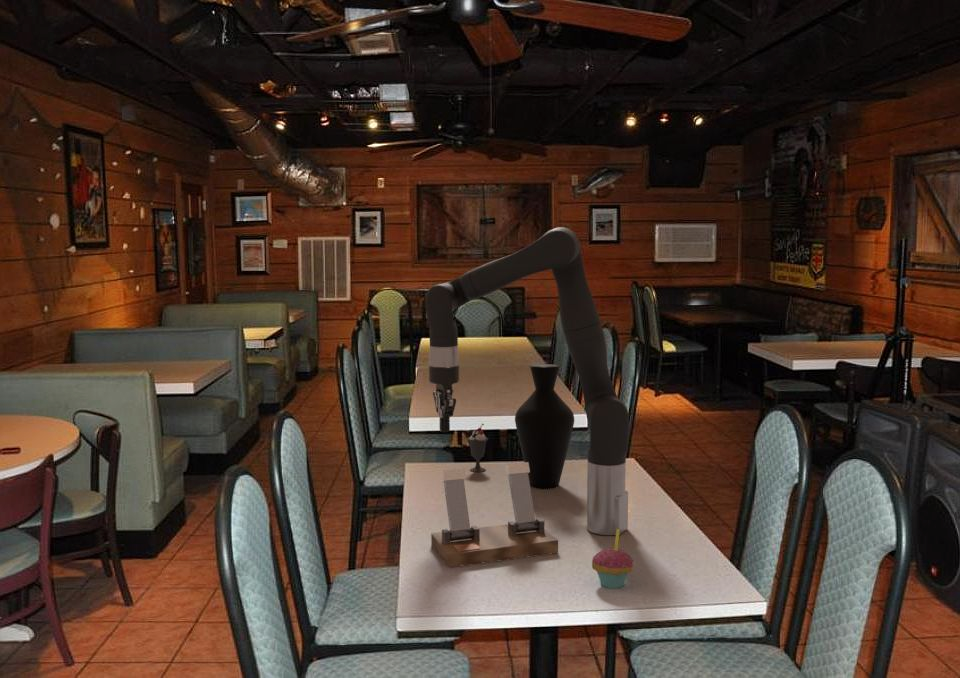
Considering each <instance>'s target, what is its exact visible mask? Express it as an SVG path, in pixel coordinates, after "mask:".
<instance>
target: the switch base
mask: <svg viewBox="0 0 960 678" xmlns="http://www.w3.org/2000/svg"><path fill="white" fill-rule="evenodd" d="M535 520H537V522H538V526H539V528H538V530H536V531H528V532H520V533H517V524H515V521H512V520H511V521H507V523H505V524H498V525H491V526H490V525H489V526H482V527H481V526H480V527H479V526H477V525H470V528H472V530H473V538H472V539H465V540H457V541H450V532H449V530H448V528H446V529H441V531H440V532H432V533H430V535H431V539H430V540H431V547H432V549H433V550H434V549H435V550H434V551H435V552H436V554H437V555H438V556H439V557H440V559H441V560H442V561H443V562H444V564H445V563H446V564H445V565H446V566H447V568H449V567H450V568H456V567H455V566H458V567H462V566H461V565H465V566H469V564H473V565H478V564H477V563H480V564H483V563H482V562H487V563H491V562H490V561H495V562H499V561H498V560H502V561H508V560H507V559H509V560H514V558H517V559H522V558H521V557H524V558H528V557H527V556H531V557H536V556H535V555H539V556H543V555H542V554H546V555H551V554H550V553H554V554H558V553H559V539H557V538H556V537H555V536H554V535H553V534H552V533H550V532H549V531H548V530H547V529H545V520H544V519H542V518H541V517H539V518H538V517H537V518H536V517H535ZM557 552H558V553H557Z"/></svg>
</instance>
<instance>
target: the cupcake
mask: <svg viewBox="0 0 960 678" xmlns="http://www.w3.org/2000/svg"><path fill="white" fill-rule="evenodd" d="M619 531H620V530H619V525H618V529H616V535H615V542H614V548H613V549H612V548H611V549H610V548H604V549H602V550H600V551H599V552H597V553H595V554H594V555H593V557H592V561H591V568H592V570H594V571H596V573H597V575H598V579H599V583H600V584H601V585H602V586H603V587H604V588H608V589H618V588H619V589H620V588H622V587H623V586H624V585H625V583H626V579H627V577H628V575H629V574H630V573H631V572H632V571H633V568H634V564H633V563H634V559H632V556H631V555H630V554H628V553H627V552H626V551H623V550H621V549H619V539H620V535H619Z"/></svg>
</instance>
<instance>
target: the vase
mask: <svg viewBox="0 0 960 678" xmlns="http://www.w3.org/2000/svg"><path fill="white" fill-rule="evenodd" d="M529 367H530V371H531V372H530V373H531V377H532V381H533V385H534V389H535V390H534V391H533V392H532V393H531V395H530V396H529V397H528V398H527V399H526V400H525V401H524V403H523V404H521V405H520V406H519V408H518V409H517V411H516V413H515V416H514V423H515V424H514V425H515V427H516V428H515V429H516V431H517V437H518V441H519V445H520V449H521V454H522V459H523V463H525V462H528V463H529V469H530V472H529V473H528V477H529V483H530V488H533V489H537V490H553V488H554V489H557V488H558V487H559V485H560V482H561V477H562V473H563V469H564V467H565V463H566V462H565V461H566V458H567V454H568V451H569V450H568V449H569V447H570V442H571V438H572V434H573V430H574V425H575V415H574V412H573V411H572V409H571V408H570V407H569V405H567V403H566V402H565V401H564V400H563V399H562V398H561V397H560V396H559V395H558V392H556V391H555V386H556V382H557V379H558V378H557V377H558V374H559V370H560V365H559V364H550V363H544V364H543V363H541V364H540V363H539V364H531V365H529ZM556 487H557V488H556Z"/></svg>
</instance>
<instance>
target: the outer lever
mask: <svg viewBox="0 0 960 678" xmlns="http://www.w3.org/2000/svg"><path fill="white" fill-rule="evenodd" d="M439 474H440V480H441V483H443V487H444V494H445V495H444V496H445V503H446V511H447V517H448V526H449V527H448V528H449V530H448V531H449V532H450V541H457V540H465V539H472V538H473V530H472V528H471V523H470V522H471V521H470V515H469V508H468V503H467V502H468V501H467V495H466V494H467V492H466V487H465V480H466V478H467V477H466V471H465V467H464V468H463V467H462V468H455V469H443V470H441V471H440V472H439Z"/></svg>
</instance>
